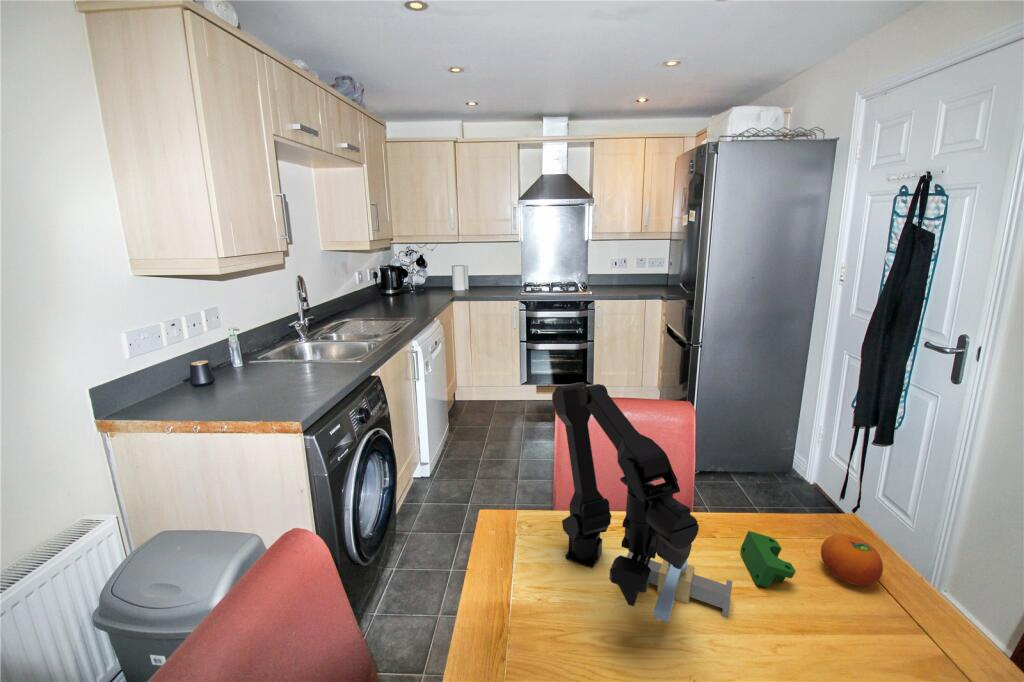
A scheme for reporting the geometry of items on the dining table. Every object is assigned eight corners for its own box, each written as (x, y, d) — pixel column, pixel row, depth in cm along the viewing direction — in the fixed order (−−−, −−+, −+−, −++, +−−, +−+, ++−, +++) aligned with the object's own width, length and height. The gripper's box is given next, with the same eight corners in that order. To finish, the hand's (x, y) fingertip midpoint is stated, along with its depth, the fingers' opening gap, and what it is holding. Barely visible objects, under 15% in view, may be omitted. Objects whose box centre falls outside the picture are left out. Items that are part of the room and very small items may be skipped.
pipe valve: (622, 580, 98) (624, 560, 96) (629, 566, 102) (630, 546, 101) (727, 618, 88) (730, 596, 87) (730, 600, 92) (732, 579, 91)
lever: (650, 617, 82) (650, 608, 81) (669, 559, 96) (670, 551, 96) (671, 625, 80) (672, 616, 80) (688, 565, 94) (688, 557, 94)
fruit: (806, 564, 102) (811, 532, 100) (841, 554, 105) (847, 522, 103) (854, 600, 92) (861, 565, 90) (891, 587, 95) (899, 553, 93)
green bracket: (776, 602, 97) (800, 583, 92) (747, 593, 98) (769, 574, 92) (764, 548, 107) (785, 528, 101) (738, 541, 107) (758, 520, 102)
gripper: (681, 560, 72) (673, 643, 76) (697, 499, 88) (690, 570, 92) (610, 538, 77) (606, 617, 81) (637, 485, 93) (633, 553, 97)
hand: (637, 587), depth 88 cm, fingers open, 9 cm apart
